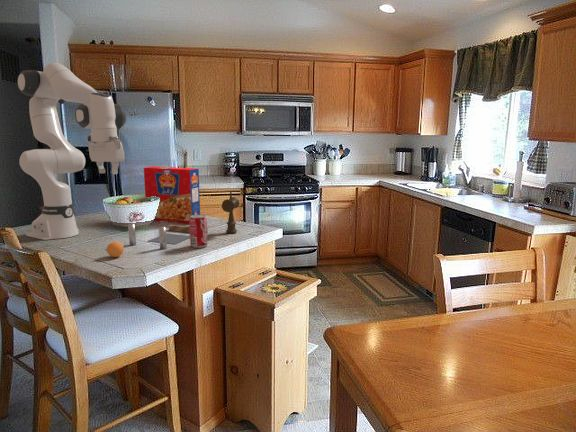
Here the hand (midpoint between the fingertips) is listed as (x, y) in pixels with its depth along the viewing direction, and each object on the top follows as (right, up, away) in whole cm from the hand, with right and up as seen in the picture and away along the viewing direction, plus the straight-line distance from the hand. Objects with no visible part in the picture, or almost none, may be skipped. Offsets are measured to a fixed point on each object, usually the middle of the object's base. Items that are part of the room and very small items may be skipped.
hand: (108, 173), depth 163 cm
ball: (+3, -29, -1) cm, 29 cm away
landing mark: (+17, -26, +26) cm, 41 cm away
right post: (+18, -30, +11) cm, 36 cm away
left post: (+3, -28, +16) cm, 33 cm away
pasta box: (+8, -19, +63) cm, 66 cm away
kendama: (+42, -24, +38) cm, 62 cm away
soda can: (+32, -29, +15) cm, 45 cm away
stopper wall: (+21, -24, +39) cm, 50 cm away
